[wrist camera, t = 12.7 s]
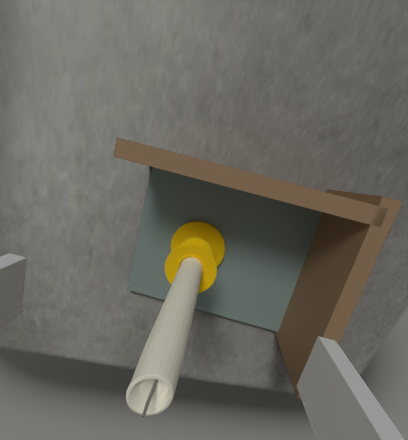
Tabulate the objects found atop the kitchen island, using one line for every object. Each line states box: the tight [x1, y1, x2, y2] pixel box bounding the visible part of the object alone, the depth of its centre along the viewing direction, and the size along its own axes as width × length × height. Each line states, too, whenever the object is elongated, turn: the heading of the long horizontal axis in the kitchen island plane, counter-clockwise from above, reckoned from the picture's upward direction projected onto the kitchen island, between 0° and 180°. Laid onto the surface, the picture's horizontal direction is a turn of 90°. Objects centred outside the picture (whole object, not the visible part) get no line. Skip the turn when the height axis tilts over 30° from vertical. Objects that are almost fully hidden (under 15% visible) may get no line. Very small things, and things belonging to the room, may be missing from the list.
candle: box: [126, 221, 225, 417], centre depth 14 cm, size 5×5×16 cm
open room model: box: [113, 137, 402, 399], centre depth 19 cm, size 18×15×7 cm
